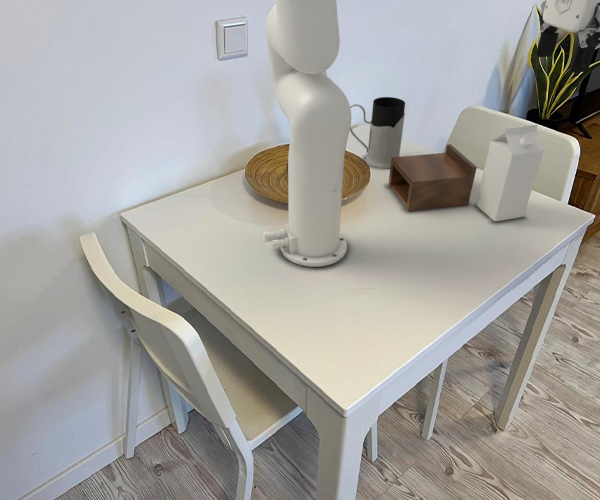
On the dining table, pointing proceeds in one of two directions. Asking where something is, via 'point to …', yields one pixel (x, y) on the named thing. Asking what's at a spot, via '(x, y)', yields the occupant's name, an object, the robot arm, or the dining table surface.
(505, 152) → the milk carton
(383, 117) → the glass holder
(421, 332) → the dining table surface
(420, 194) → the brown wooden box
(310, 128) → the robot arm
